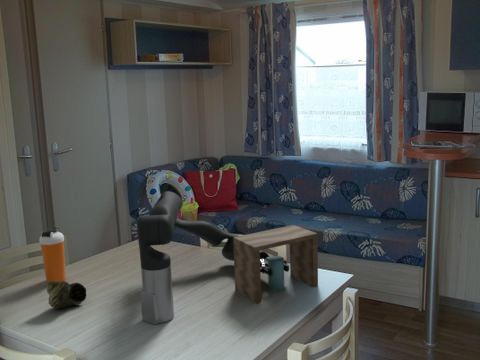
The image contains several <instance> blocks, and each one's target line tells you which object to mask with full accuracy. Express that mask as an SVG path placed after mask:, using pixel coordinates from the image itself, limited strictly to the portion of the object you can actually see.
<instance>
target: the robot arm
mask: <svg viewBox="0 0 480 360" xmlns="http://www.w3.org/2000/svg"><path fill="white" fill-rule="evenodd" d="M183 205H184V203H183V200H182V198H181V197H180V196H179V194H177V193H175V192H174V191H166V190H165V191H164V192H163V193H161V195H160V196H159V198H158V199H157V200H156V202H155V204H154V206H153V207H152V209H151V211H150V213H149V215H141V216H140V217H139V218H137V222H136V231H137V241H138V249H139V258H140V260H139V261H140V271H141V272H140V273H141V286H142V290H141V291H140V292H139V294H140V303H141V304H140V305H141V307H140V308H141V320H142V321H145V322H147V323H150V324H153V325H158V324H163V323H166V322H169V321H171V320H172V319H174V317H175V313H174V312H175V311H174V310H175V309H174V298H173V297H174V294H173V281H172V280H173V279H172V264H171V263H172V261H171V256H170V255H169V254H167V253H166V252H162V251H159V250H157V249H156V248H154V247H152V246H164V245H169V244H170V243H171V242H172V239H173V236H174V229H175V228H178V229H179V230H182V231H184V232H186V233H189V234H192V235H194V236H196V237H197V238H199V239H201V240H203V241H204V242H206V243H208V244H210V245H212V246H214V247H218V246H219V245H221V243H222V242H223V241H224V240H226V242H225V243H224V245H223V247H222V249H221V255H222V256H223V258H225V259H226V260H228V261H233V262H234V247H233V237H237V236H240V235H239V234H236V233H231V232H228V231H224V230H223V229H221V228H219V227H217V226H215V225H214V224H212V223H211V222H208V221H206V220H186V219H185V220H183V219H180V218H178V215H179V212H180V210H181V209H182V208H183ZM269 257H270V255H269V254H268V252H266V251H264V250H260V274H261V273H262V274H266V275H267V276H268V275H270V276H272V275H273V271H272V269H270V268H268V258H269ZM287 260H288V259H285V258H284V272H286V273H287V272H289V271H290V265H288V263H287V262H288V261H287Z"/></svg>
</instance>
